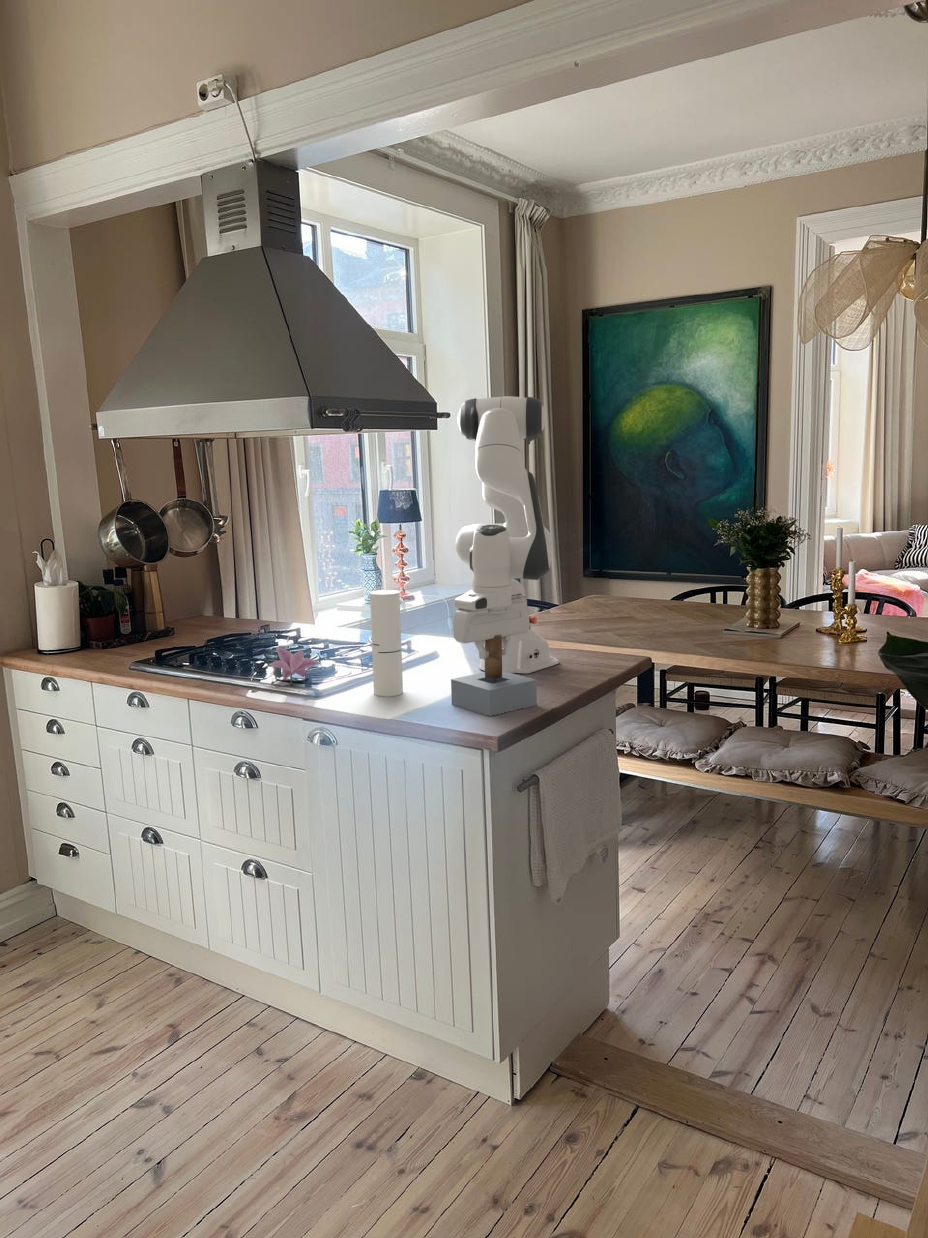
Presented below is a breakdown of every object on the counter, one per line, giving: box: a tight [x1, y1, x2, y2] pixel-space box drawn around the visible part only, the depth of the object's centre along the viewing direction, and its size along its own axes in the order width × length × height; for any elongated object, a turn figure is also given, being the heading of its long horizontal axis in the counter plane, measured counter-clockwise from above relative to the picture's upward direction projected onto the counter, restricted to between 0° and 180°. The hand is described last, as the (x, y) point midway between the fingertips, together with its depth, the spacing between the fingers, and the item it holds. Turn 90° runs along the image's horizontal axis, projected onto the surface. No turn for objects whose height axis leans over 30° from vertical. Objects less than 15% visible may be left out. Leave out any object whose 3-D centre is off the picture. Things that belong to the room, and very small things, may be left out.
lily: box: [268, 646, 321, 685], centre depth 239 cm, size 12×12×10 cm
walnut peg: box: [484, 635, 502, 679], centre depth 213 cm, size 4×4×10 cm
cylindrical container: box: [369, 589, 404, 697], centre depth 226 cm, size 7×7×25 cm
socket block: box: [450, 671, 538, 717], centre depth 214 cm, size 14×14×6 cm
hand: (493, 656), depth 213 cm, fingers closed on walnut peg, 4 cm apart
